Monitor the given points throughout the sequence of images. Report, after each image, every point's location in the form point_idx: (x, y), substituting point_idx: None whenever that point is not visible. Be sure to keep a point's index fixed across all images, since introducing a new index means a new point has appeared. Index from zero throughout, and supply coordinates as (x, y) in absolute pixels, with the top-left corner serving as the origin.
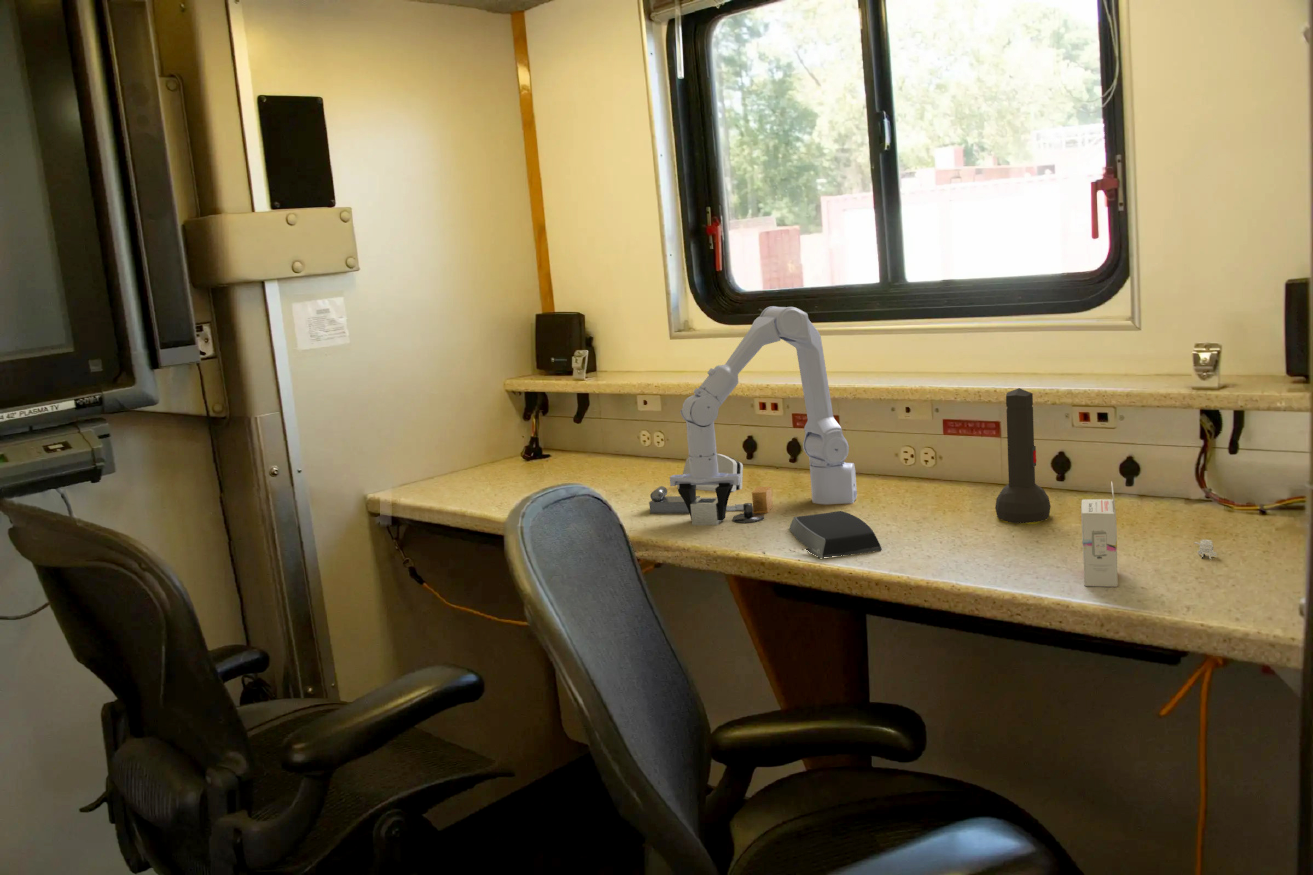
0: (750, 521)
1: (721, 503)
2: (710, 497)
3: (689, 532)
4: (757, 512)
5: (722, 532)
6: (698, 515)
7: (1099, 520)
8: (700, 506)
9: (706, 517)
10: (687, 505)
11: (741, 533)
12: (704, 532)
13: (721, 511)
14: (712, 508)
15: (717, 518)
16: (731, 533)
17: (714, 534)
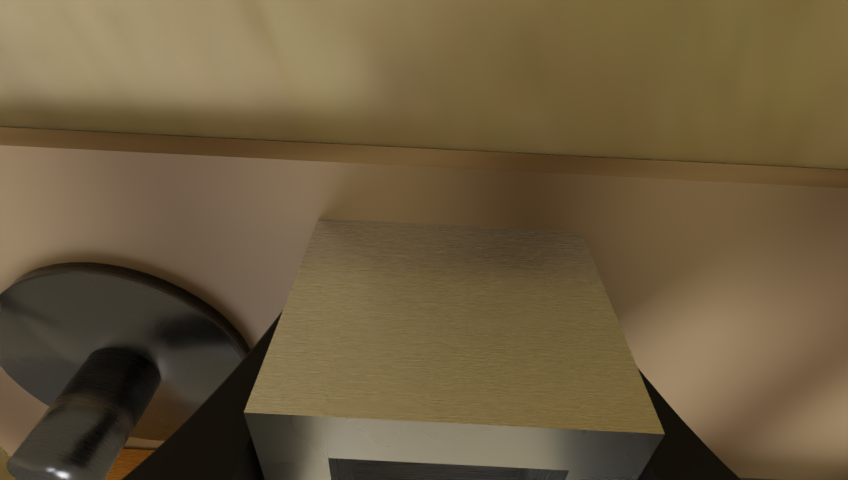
0: (33, 277)
1: (197, 437)
2: None
3: (597, 112)
4: (151, 452)
5: (239, 96)
6: (521, 298)
7: None
8: (497, 392)
9: (424, 276)
10: (692, 442)
11: (10, 49)
12: (433, 105)
13: (257, 356)
14: (321, 356)
15: (302, 269)
16: (121, 53)
17: (295, 19)
